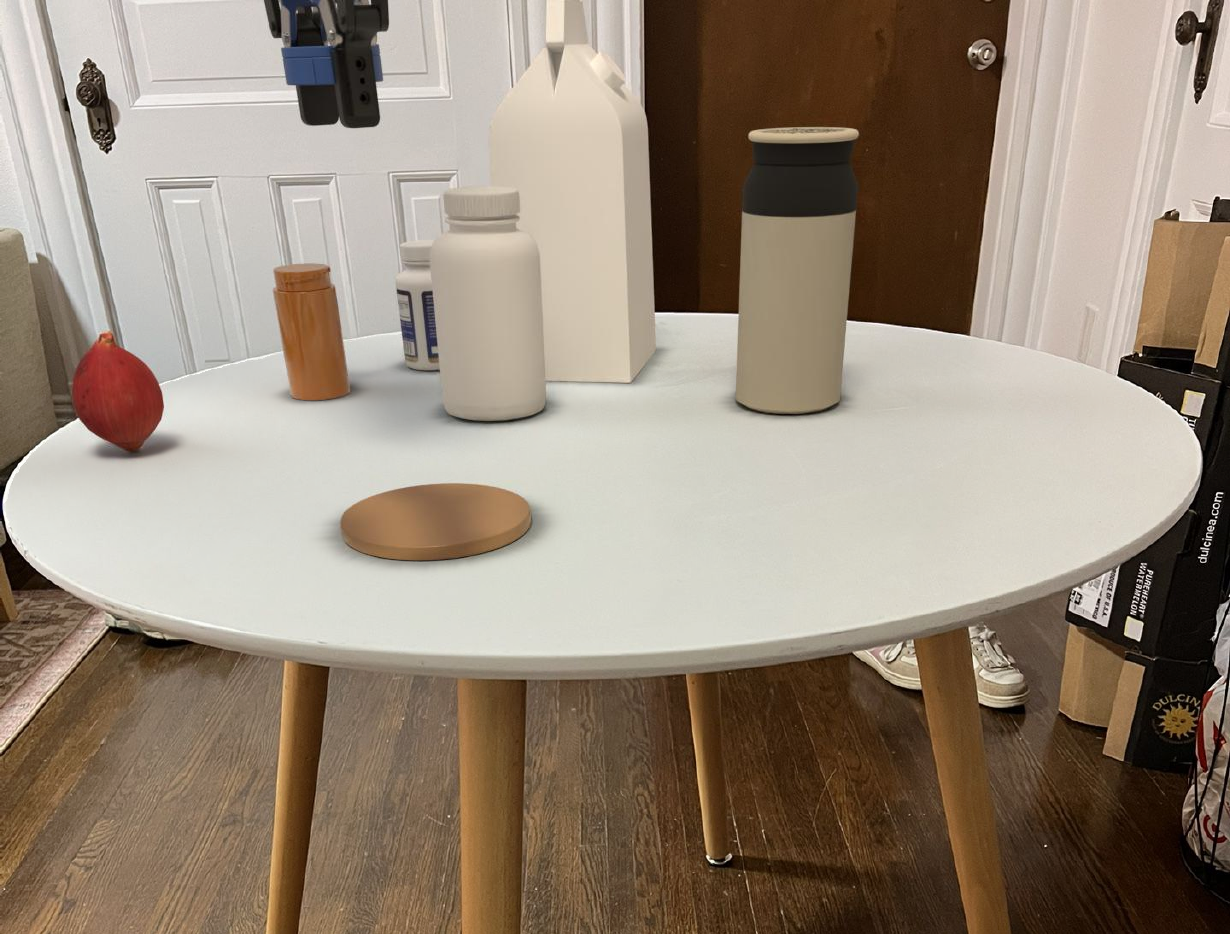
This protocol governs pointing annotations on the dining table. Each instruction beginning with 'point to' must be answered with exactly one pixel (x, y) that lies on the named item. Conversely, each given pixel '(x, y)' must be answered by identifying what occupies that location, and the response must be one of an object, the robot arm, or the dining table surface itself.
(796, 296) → the travel mug
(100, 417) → the onion
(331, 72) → the lid
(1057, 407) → the dining table surface
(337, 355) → the jar
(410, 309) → the pill bottle
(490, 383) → the pill bottle
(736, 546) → the dining table surface
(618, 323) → the milk
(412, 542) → the coaster
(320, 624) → the dining table surface
